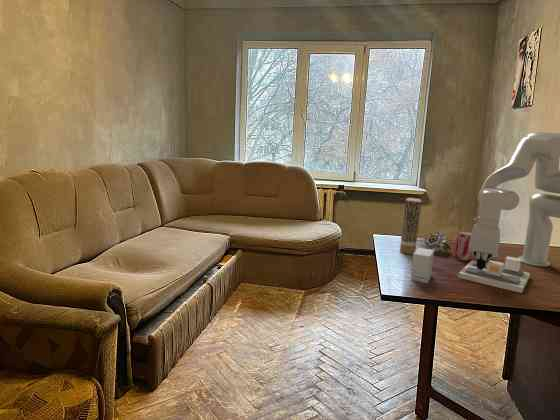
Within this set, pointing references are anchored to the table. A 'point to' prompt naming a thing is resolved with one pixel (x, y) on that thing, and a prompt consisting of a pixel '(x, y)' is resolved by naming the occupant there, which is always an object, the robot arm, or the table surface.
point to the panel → (495, 277)
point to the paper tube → (410, 225)
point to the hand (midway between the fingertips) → (480, 268)
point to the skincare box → (422, 265)
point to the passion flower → (436, 242)
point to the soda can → (463, 246)
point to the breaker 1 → (495, 268)
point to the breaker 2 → (512, 264)
